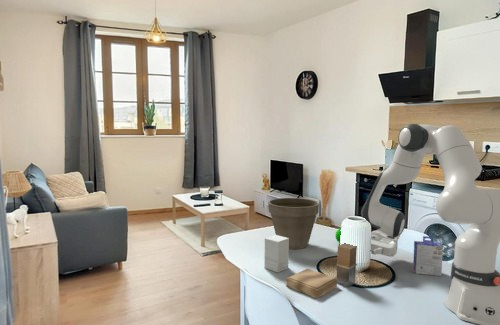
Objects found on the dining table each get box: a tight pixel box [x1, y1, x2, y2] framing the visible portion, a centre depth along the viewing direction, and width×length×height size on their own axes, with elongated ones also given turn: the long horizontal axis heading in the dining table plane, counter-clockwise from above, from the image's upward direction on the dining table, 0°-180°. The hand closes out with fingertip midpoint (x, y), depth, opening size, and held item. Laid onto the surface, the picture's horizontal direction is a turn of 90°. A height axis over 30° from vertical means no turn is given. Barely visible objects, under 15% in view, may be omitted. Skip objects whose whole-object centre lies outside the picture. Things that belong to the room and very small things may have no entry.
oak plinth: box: [285, 268, 338, 299], centre depth 126 cm, size 13×13×3 cm
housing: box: [335, 243, 358, 288], centre depth 130 cm, size 5×5×14 cm
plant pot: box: [267, 197, 320, 250], centre depth 173 cm, size 25×25×22 cm
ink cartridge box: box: [412, 235, 444, 277], centre depth 141 cm, size 10×6×14 cm, turn 78°
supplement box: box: [263, 234, 290, 273], centre depth 143 cm, size 7×7×13 cm
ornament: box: [335, 227, 342, 244], centre depth 176 cm, size 8×8×10 cm
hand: (361, 249), depth 138 cm, fingers open, 8 cm apart
